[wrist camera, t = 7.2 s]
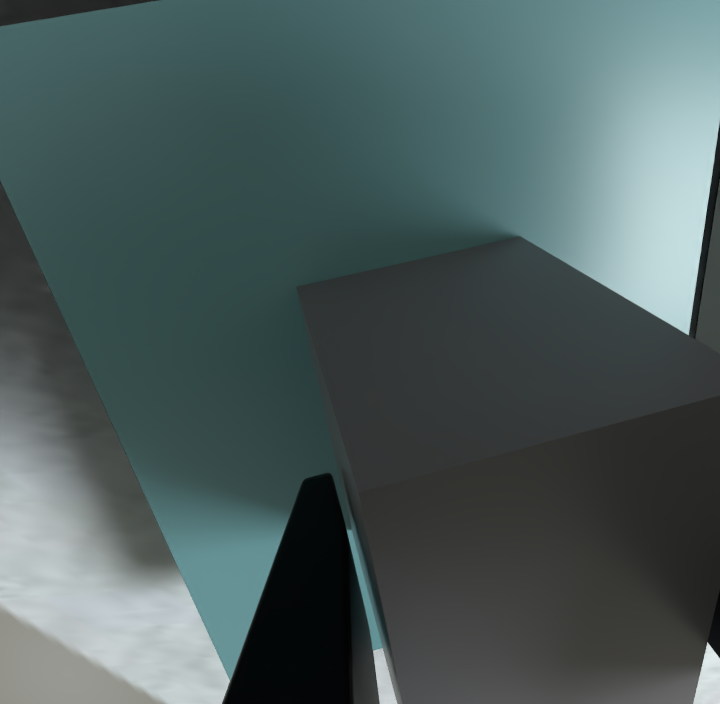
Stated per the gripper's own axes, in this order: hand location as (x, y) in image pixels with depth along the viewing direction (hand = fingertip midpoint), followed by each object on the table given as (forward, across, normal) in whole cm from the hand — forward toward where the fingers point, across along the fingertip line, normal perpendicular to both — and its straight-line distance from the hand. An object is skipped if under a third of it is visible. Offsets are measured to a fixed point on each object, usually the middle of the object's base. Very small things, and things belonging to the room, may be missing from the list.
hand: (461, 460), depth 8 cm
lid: (+4, 0, 0) cm, 4 cm away
